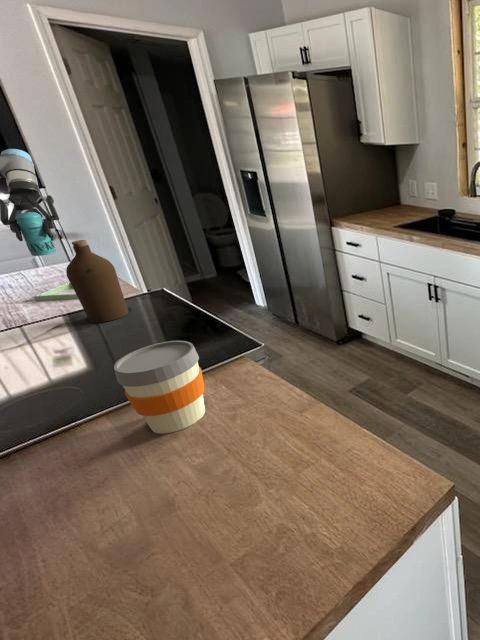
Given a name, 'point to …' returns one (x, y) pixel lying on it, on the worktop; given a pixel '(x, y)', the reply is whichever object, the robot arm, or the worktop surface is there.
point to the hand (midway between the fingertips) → (34, 237)
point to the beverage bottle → (34, 231)
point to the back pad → (49, 294)
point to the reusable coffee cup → (164, 384)
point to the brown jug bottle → (96, 285)
